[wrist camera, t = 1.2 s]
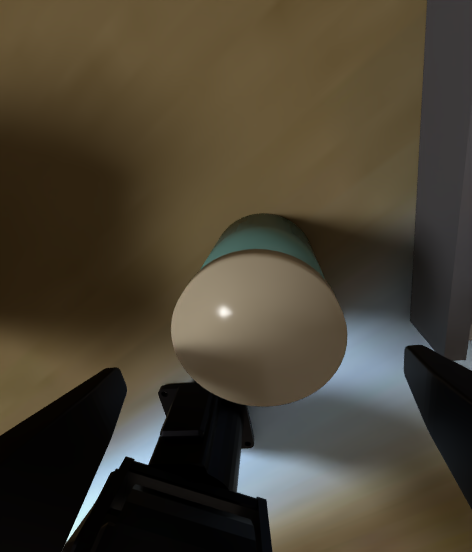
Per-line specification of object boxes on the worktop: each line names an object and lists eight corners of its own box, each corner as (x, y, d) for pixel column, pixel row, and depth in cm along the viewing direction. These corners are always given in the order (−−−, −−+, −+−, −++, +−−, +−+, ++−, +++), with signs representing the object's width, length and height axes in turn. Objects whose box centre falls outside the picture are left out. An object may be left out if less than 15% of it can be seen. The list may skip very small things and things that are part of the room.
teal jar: (318, 302, 18) (350, 403, 11) (222, 312, 19) (192, 409, 12) (310, 203, 16) (343, 246, 9) (202, 220, 17) (150, 271, 10)
